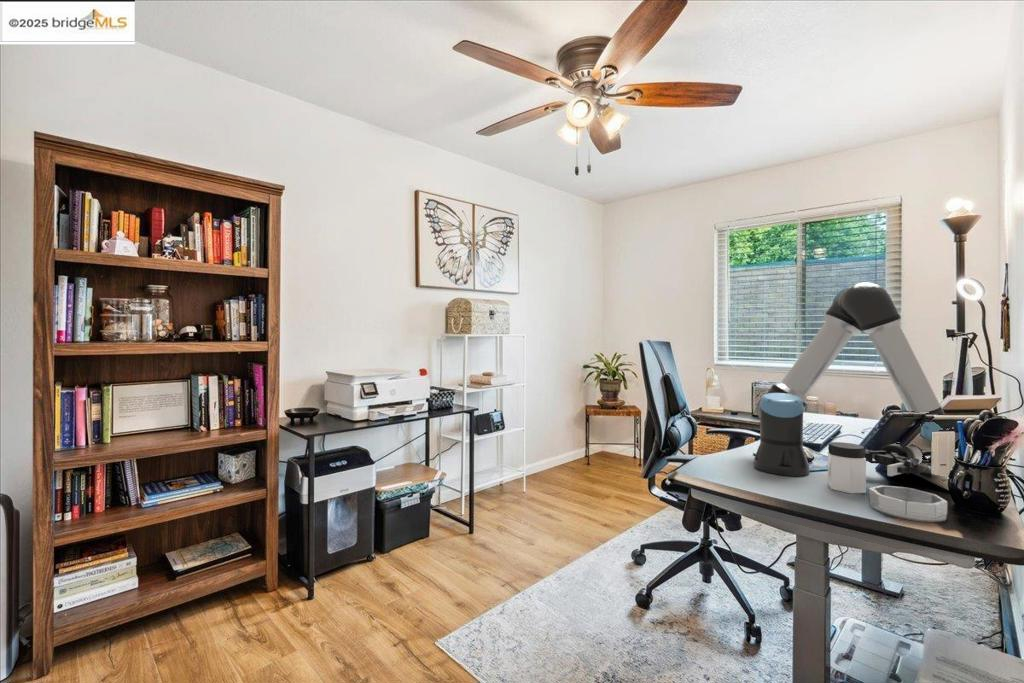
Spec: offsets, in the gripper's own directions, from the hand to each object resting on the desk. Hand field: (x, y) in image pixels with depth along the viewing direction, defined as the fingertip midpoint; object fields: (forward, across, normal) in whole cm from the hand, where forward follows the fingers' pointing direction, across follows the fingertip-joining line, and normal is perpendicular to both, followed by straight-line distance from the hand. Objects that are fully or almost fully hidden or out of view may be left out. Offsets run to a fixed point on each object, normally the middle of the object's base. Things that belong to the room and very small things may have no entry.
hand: (860, 464), depth 129 cm
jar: (+5, +1, -6) cm, 8 cm away
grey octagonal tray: (+10, -15, -6) cm, 19 cm away
